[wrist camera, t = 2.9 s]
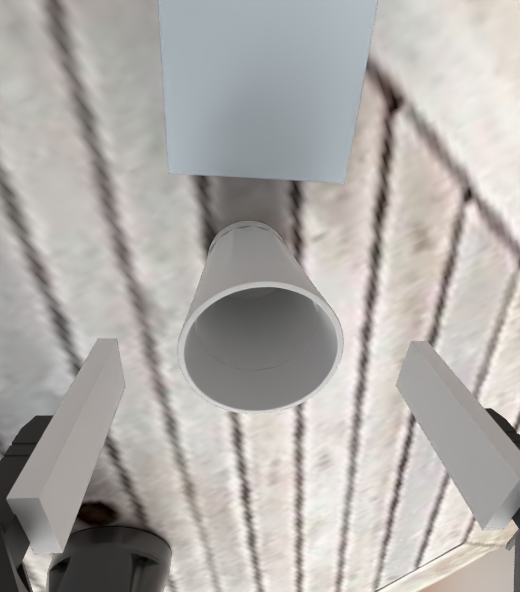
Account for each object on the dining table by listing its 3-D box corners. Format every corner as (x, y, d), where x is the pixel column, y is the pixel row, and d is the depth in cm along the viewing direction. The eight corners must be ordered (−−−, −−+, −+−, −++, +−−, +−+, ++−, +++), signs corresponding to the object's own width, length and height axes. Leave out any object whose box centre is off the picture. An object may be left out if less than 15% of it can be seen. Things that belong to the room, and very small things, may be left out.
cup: (258, 318, 29) (276, 433, 19) (178, 271, 26) (146, 375, 16) (318, 248, 27) (377, 336, 16) (235, 187, 24) (242, 245, 13)
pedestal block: (179, 161, 23) (168, 173, 18) (170, -38, 18) (152, -87, 14) (323, 170, 24) (345, 183, 19) (350, -16, 19) (387, -54, 15)
